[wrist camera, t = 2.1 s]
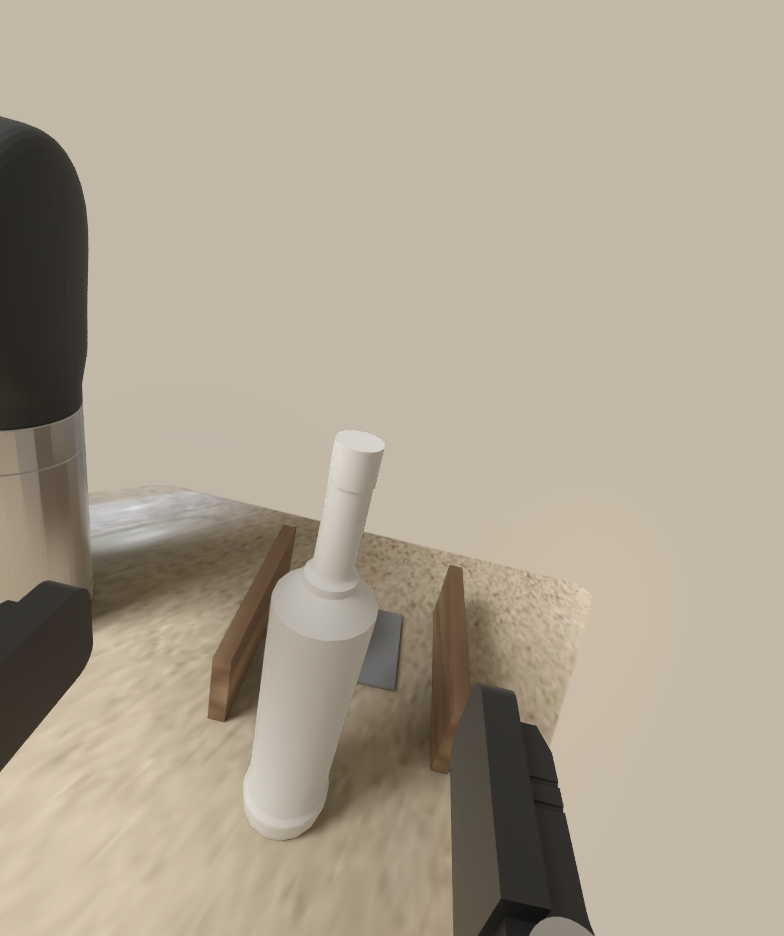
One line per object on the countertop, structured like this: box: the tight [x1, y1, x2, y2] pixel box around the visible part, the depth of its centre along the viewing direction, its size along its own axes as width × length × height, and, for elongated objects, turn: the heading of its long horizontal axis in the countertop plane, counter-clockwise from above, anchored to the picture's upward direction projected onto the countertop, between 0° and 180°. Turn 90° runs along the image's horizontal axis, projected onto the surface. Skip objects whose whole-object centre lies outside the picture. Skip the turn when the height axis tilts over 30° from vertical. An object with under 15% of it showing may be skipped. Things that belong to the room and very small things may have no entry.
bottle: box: [243, 430, 385, 841], centre depth 26 cm, size 5×5×25 cm
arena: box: [208, 525, 470, 774], centre depth 40 cm, size 17×16×6 cm
